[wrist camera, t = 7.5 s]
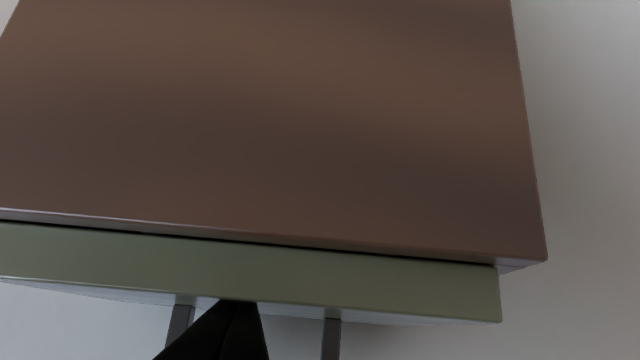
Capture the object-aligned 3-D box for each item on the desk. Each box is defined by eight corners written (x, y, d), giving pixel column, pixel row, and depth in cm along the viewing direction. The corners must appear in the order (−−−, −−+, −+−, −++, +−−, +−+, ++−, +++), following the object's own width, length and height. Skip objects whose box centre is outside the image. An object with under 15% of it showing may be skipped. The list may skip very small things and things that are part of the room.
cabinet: (414, 298, 16) (550, 262, 7) (125, 272, 16) (-89, 203, 7) (411, 51, 21) (490, -145, 13) (191, 29, 21) (113, -187, 12)
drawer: (406, 441, 14) (528, 567, 6) (91, 415, 13) (-151, 514, 6) (404, 73, 20) (465, -75, 13) (189, 51, 20) (124, -111, 12)
